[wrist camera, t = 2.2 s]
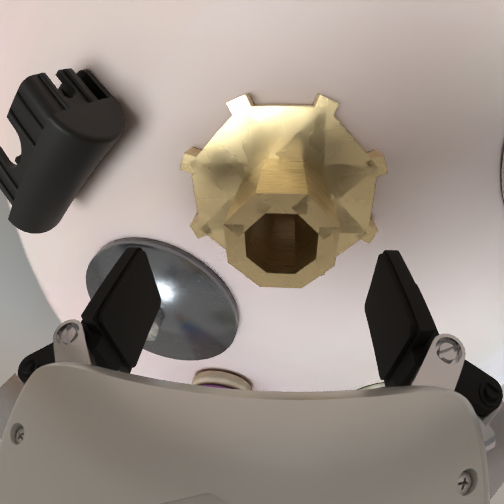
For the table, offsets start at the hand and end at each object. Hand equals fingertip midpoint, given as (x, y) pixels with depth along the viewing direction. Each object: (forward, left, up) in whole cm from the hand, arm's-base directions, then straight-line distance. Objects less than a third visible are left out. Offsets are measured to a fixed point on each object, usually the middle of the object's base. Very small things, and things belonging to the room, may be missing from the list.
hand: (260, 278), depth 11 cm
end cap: (+14, -5, -9) cm, 18 cm away
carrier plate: (+11, +12, -9) cm, 18 cm away
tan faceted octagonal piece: (-1, 0, -9) cm, 9 cm away
